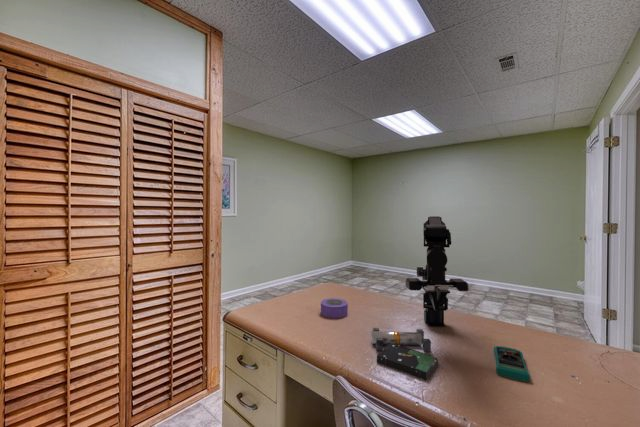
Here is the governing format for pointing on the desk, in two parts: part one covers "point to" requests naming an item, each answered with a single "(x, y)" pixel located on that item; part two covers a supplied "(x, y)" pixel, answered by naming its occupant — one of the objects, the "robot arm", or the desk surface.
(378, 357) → the disk drive
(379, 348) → the collar stand
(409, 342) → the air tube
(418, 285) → the robot arm
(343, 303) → the tape roll
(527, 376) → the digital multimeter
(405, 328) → the desk surface
